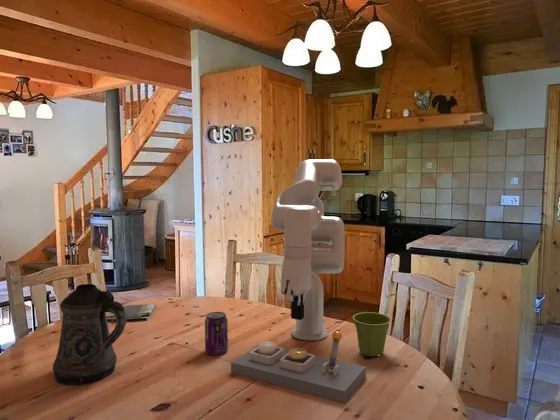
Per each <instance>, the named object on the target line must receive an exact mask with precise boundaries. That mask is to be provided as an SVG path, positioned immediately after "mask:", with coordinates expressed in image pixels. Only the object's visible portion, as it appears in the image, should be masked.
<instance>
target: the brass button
mask: <svg viewBox="0 0 560 420" xmlns="http://www.w3.org/2000/svg"><path fill="white" fill-rule="evenodd" d="M288 350H289V360H291V361H294V362H302V361H305V360H306V359H307V354H308V351H307V349H306V348H302V347H293V348H292V347H291V348H290V349H288Z"/></svg>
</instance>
